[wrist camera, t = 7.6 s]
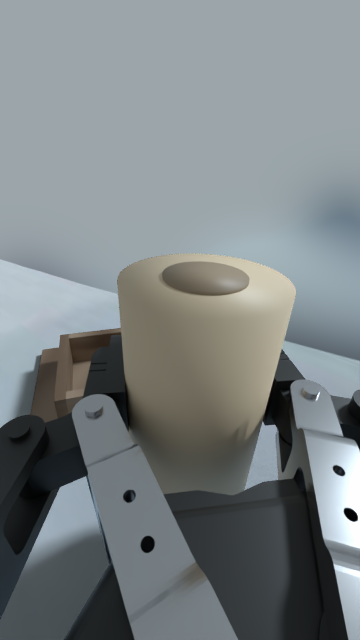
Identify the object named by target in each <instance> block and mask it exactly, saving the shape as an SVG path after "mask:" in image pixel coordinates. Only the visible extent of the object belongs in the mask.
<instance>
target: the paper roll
mask: <svg viewBox="0 0 360 640" xmlns="http://www.w3.org/2000/svg"><path fill="white" fill-rule="evenodd" d="M117 284H118V297H119V310H120V323H121V336H122V348H123V361H124V374H125V382H126V394H127V406H128V418H129V435H130V437H131V439H132V441H133V443H134V445H135V444H138V445H139V446H140V448H141V449H142V451H143V453H144V455H145V457H146V460H147V462H148V464H149V466H150V468H151V470H152V472H153V474H154V476H155V478H156V480H157V482H158V485H159V487H160V489H161V491H162V493H163V495H164V494H169V493H178V492H186V491H194V490H200V491H207V492H214V493H220V494H227V495H235V494H238V493H240V492H242V491H244V489H245V485H246V481H247V478H248V474H249V470H250V466H251V462H252V459H253V455H254V451H255V447H256V444H257V440H258V436H259V432H260V429H261V425H262V421H263V417H264V413H265V410H266V406H267V402H268V398H269V395H270V391H271V387H272V383H273V380H274V376H275V372H276V368H277V365H278V361H279V357H280V353H281V349H282V346H283V342H284V338H285V334H286V330H287V327H288V323H289V319H290V316H291V312H292V308H293V304H294V300H295V297H296V289H295V286H294V285H293V284H292V282H291V281H290V280H289V279H288V278H287V277H285V276H284V275H283V274H281V273H279V272H278V271H276V270H274V269H271V268H269V267H267V266H264V265H261V264H258V263H255V262H251V261H248V260H243V259H239V258H234V257H228V256H221V255H212V254H171V255H162V256H156V257H151V258H147V259H144V260H141V261H138V262H135V263H133V264H131V265H129V266H127V267H126V268H125V269H123V270H122V271H121V272H120V274H119V276H118V280H117Z"/></svg>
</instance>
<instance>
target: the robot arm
mask: <svg viewBox="0 0 360 640" xmlns="http://www.w3.org/2000/svg"><path fill="white" fill-rule="evenodd" d="M90 364H91V365H90V368H89V372H88V377H87V381H86V385H85V390H84V394H83V398H82V399H81V400H80V401H79V402H78V403H77V404H76V405H75V406H74V408H73V410H72V412H71V413H69V414H68V415H66V416H63V417H61V418H58V419H55V420H52V421H49V422H46V423H45V422H44V420H43V419H42V418H40V417H38V416H35V415H25V416H20V417H17V418H15V419H13V420H11V421H9V422H8V423H6V424H5V425H4V426H2V427H1V428H0V619H1V616H2V614H3V612H4V610H5V608H6V605H7V603H8V601H9V599H10V596H11V594H12V592H13V590H14V588H15V585H16V583H17V581H18V579H19V577H20V574H21V572H22V570H23V568H24V566H25V563H26V561H27V559H28V557H29V554H30V552H31V550H32V548H33V546H34V543H35V541H36V539H37V537H38V535H39V532H40V530H41V528H42V526H43V523H44V521H45V519H46V517H47V515H48V512H49V510H50V508H51V506H52V504H53V501H54V499H55V497H56V495H57V492H58V490H59V488H60V487H61V486H64V485H66V484H68V483H71V482H73V481H75V480H78V479H80V478H82V477H85V476H86V478H87V482H88V486H89V489H90V493H91V497H92V501H93V504H94V508H95V512H96V516H97V520H98V524H99V528H100V532H101V536H102V540H103V544H104V547H105V551H106V555H107V559H108V563H109V566H108V568H107V570H106V571H105V573H104V575H103V576H102V578H101V580H100V581H99V583H98V585H97V586H96V588H95V590H94V591H93V593H92V594H91V596H90V598H89V599H88V601H87V603H86V604H85V606H84V608H83V609H82V611H81V613H80V614H79V616H78V618H77V619H76V621H75V623H74V624H73V626H72V628H71V629H70V631H69V633H68V634H67V636H66V638H65V639H64V640H360V390H357V391H356V392H355V393H354V394H353V396H352V399H349V398H343V397H337V396H331V395H330V394H329V392H328V391H327V390H326V389H325V388H324V387H323V386H321V385H320V384H318V383H316V382H313V381H310V380H305V378H304V377H303V376H302V374H301V373H300V372H299V371H298V369H297V368H296V367H295V365H294V364H293V363H292V362H291V360H289V358H288V356H287V355H286V354H285V352H284V351H283V350H282V349H281V353H280V357H279V361H278V365H277V368H276V372H275V376H274V380H273V383H272V387H271V391H270V395H269V398H268V402H267V406H266V410H265V413H264V417H263V422H264V424H265V425H276V427H277V432H276V451H277V466H278V480H275V481H267V482H262V483H260V484H258V485H256V486H253V487H251V488H249V489H247V490H245V491H242V492H240V493H238V494H235V495H227V494H220V493H214V492H207V491H200V490H194V491H186V492H178V493H169V494H164V495H163V493H162V491H161V489H160V487H159V485H158V482H157V480H156V478H155V476H154V474H153V472H152V470H151V468H150V466H149V464H148V462H147V460H146V457H145V455H144V453H143V451H142V449H141V448H140V446H139V445H138V444H135V445H134V443H133V441H132V439H131V437H130V435H129V418H128V406H127V394H126V382H125V374H124V361H123V348H122V336H121V335H112V336H111V339H110V346H109V347H99V348H98V349H97V350H96V351H95V353H94V354H93V355H92V359H91V363H90Z"/></svg>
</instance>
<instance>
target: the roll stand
mask: <svg viewBox="0 0 360 640" xmlns="http://www.w3.org/2000/svg"><path fill="white" fill-rule="evenodd" d="M112 335H121V328H117V329H109V330H100V331H92V332H83V333H75V334H66V335H60V345H59V348H52V349H45V350H42V355H41V361H40V366H39V371H38V377H37V382H36V387H35V393H34V398H33V404H32V409H31V414H30V415H35V416H38V417H40V418H42V419H43V420H44V422H45V423H46V422H49V421H52V420H55V419H58V418H61V417H63V416H66V415H68V414H69V413H71V412H72V410H73V408H74V406H75V405H76V404H77V403H78V402H79V401H80V400H81V399H82V398H83V394H84V390H85V385H86V381H87V377H88V372H89V368H90V365H91V364H90V363H91V359H92V355H93V354H94V353H95V351H96V350H97V349H98V348H99V347H109V346H110V339H111V336H112Z"/></svg>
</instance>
